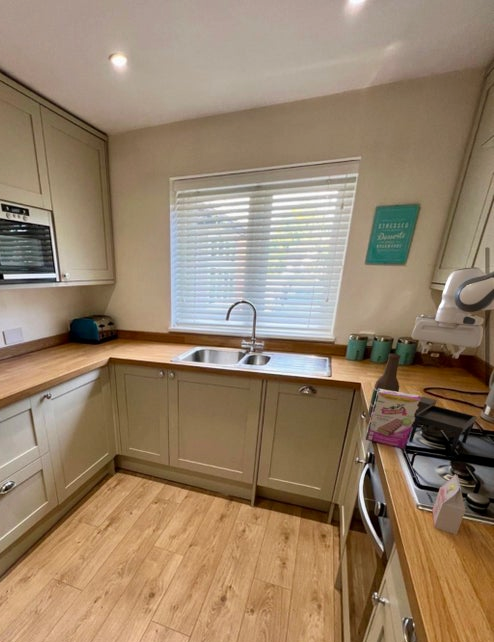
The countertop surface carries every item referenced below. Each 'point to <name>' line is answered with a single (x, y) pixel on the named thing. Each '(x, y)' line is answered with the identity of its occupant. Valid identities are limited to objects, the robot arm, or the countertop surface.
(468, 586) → the countertop surface
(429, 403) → the black box
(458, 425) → the black tray stand
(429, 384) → the countertop surface
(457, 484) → the small gable carton
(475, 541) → the countertop surface
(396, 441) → the candy bar box
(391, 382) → the beer bottle
